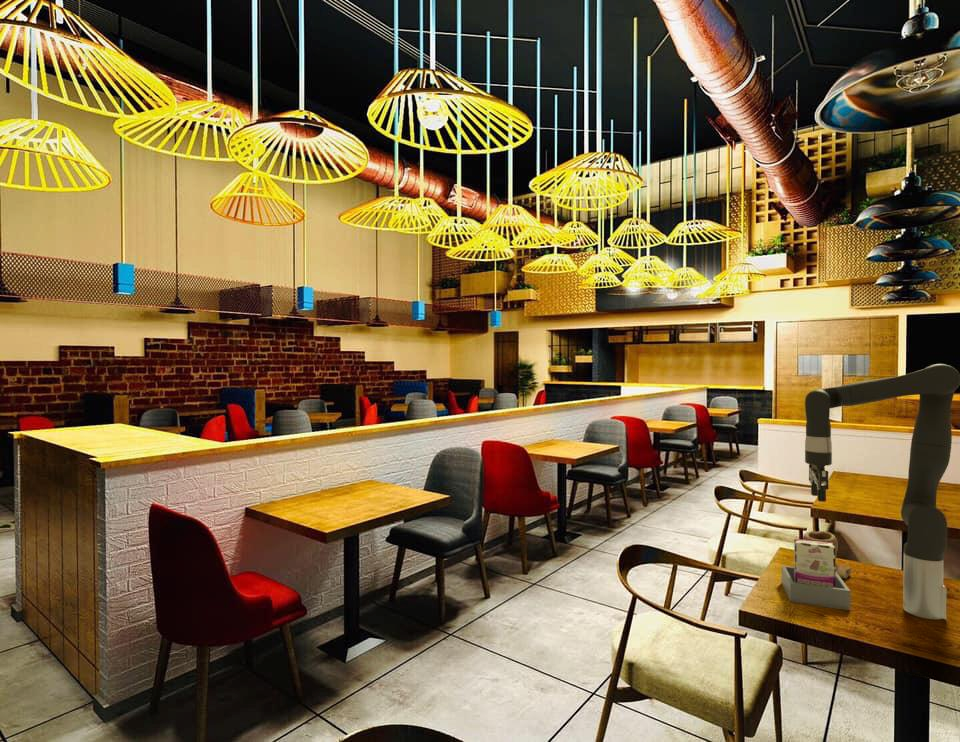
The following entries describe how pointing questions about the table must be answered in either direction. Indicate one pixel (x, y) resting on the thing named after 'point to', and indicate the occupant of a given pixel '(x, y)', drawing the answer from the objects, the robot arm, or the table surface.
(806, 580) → the candy bar box
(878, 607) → the table surface
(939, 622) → the table surface
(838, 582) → the tote
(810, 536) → the stone cup
